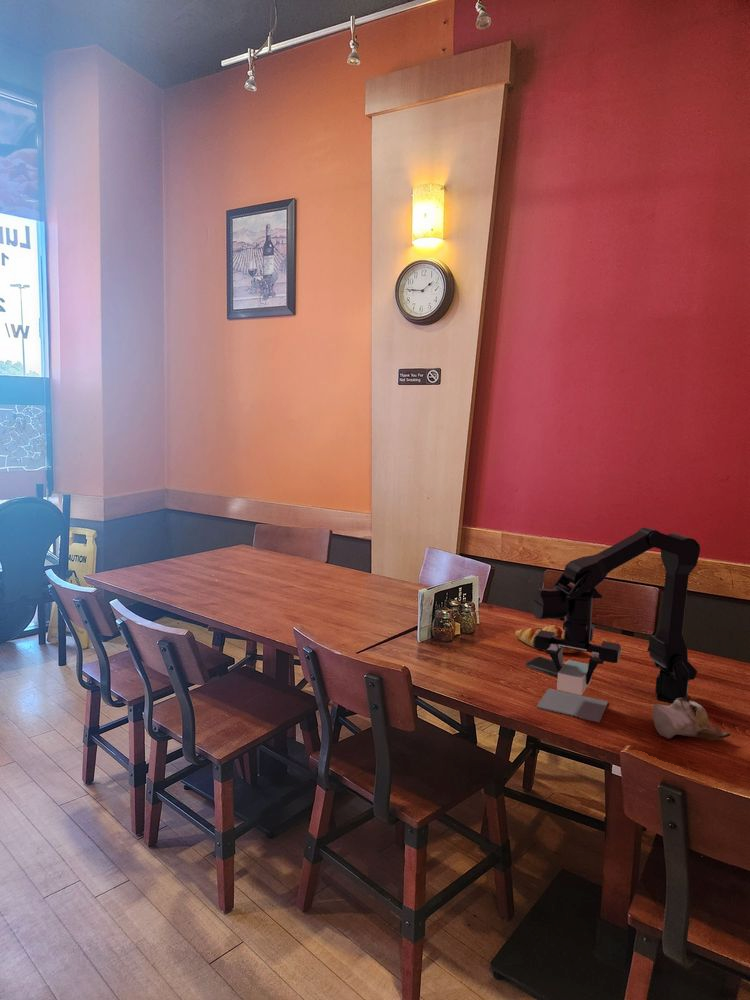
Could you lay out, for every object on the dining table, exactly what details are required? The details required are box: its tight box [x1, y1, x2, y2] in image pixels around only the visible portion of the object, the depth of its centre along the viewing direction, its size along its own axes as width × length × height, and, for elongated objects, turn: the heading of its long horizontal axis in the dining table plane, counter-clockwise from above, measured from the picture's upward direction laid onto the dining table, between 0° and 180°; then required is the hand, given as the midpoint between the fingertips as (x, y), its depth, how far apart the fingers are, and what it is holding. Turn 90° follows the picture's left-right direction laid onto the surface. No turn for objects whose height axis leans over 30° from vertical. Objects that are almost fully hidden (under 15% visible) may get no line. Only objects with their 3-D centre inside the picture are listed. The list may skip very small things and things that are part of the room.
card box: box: [556, 659, 592, 696], centre depth 152 cm, size 9×6×4 cm, turn 149°
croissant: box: [514, 624, 581, 654], centre depth 189 cm, size 21×10×8 cm, turn 53°
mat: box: [536, 688, 609, 724], centre depth 153 cm, size 14×11×1 cm
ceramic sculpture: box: [652, 697, 732, 741], centre depth 140 cm, size 11×9×15 cm
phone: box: [525, 656, 566, 679], centre depth 172 cm, size 8×1×15 cm
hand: (574, 681), depth 152 cm, fingers closed on card box, 6 cm apart
